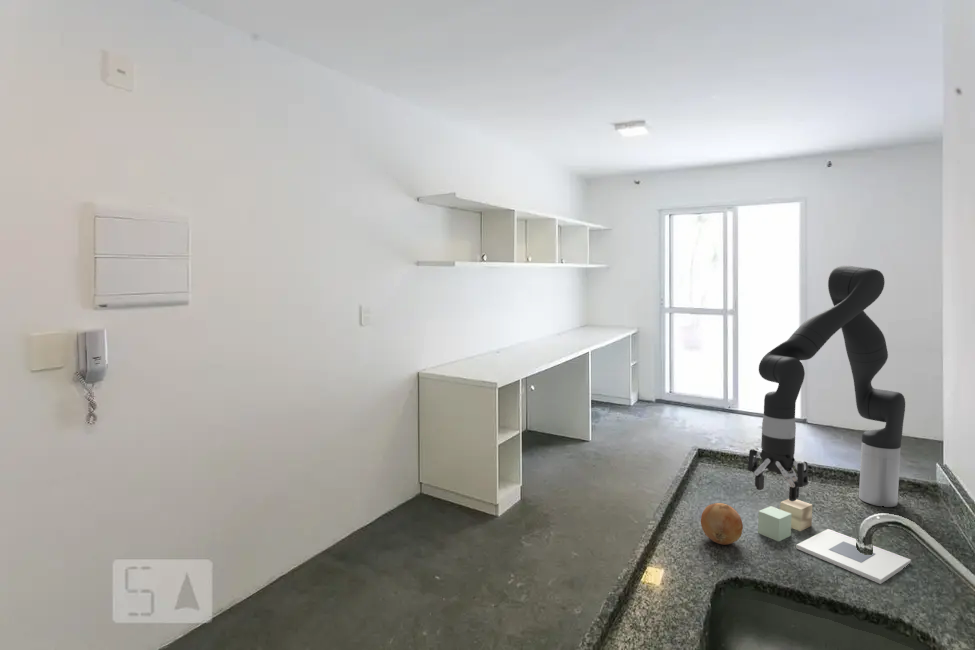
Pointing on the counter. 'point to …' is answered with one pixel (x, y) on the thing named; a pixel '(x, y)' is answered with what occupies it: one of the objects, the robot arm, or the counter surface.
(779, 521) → the sage block
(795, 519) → the beech block
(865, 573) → the baseplate
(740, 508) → the counter surface
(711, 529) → the onion
